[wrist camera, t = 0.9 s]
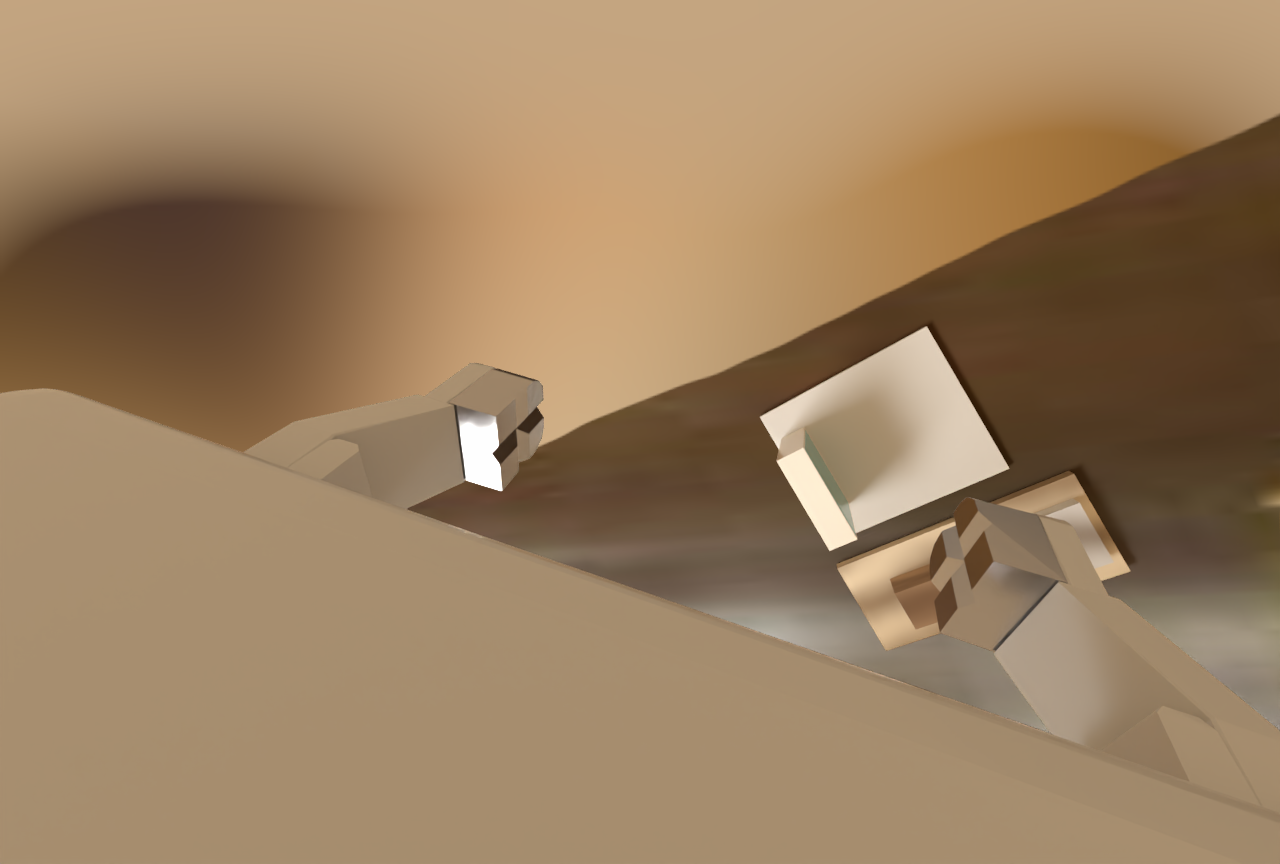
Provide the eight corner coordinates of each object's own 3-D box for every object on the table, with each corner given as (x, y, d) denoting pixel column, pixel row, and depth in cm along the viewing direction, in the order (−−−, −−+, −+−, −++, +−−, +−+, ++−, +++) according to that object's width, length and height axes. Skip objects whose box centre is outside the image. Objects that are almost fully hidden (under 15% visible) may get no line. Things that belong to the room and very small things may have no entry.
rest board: (1124, 566, 46) (1130, 571, 45) (884, 645, 54) (886, 651, 53) (1068, 470, 46) (1074, 473, 45) (836, 564, 54) (837, 568, 53)
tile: (849, 503, 52) (858, 539, 43) (825, 514, 53) (829, 550, 44) (804, 426, 51) (803, 447, 43) (781, 438, 52) (776, 461, 44)
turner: (1106, 556, 45) (1126, 571, 43) (914, 621, 52) (921, 638, 49) (1072, 498, 45) (1090, 509, 43) (884, 570, 52) (889, 584, 49)
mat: (1007, 466, 47) (1009, 468, 47) (833, 540, 53) (833, 542, 53) (925, 326, 47) (926, 326, 46) (760, 416, 53) (759, 417, 53)
